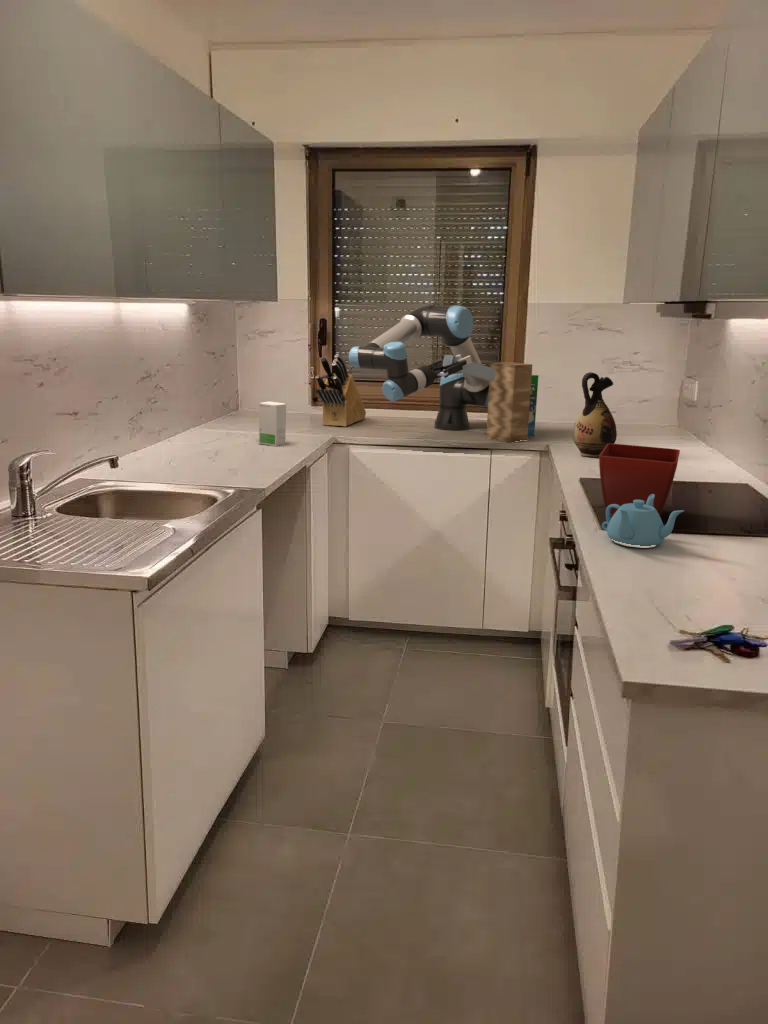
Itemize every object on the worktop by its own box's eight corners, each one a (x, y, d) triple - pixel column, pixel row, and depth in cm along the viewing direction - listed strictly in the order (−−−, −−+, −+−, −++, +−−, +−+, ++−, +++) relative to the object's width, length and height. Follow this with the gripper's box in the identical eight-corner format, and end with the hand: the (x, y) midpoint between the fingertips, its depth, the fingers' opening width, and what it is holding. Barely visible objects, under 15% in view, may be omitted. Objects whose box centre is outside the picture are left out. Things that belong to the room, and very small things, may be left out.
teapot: (594, 533, 196) (597, 493, 193) (652, 532, 198) (657, 492, 195) (617, 552, 182) (621, 508, 179) (680, 551, 184) (685, 508, 181)
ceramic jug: (597, 450, 302) (604, 370, 294) (623, 458, 289) (631, 374, 281) (559, 452, 296) (565, 370, 288) (583, 460, 283) (590, 375, 275)
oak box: (485, 437, 324) (489, 362, 316) (503, 435, 330) (507, 361, 322) (510, 443, 314) (515, 365, 306) (528, 440, 320) (533, 364, 312)
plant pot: (669, 527, 203) (677, 462, 198) (592, 518, 209) (598, 455, 205) (673, 509, 220) (680, 449, 215) (601, 501, 227) (607, 443, 222)
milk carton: (532, 432, 339) (536, 372, 332) (534, 436, 330) (538, 375, 324) (510, 431, 340) (514, 372, 333) (512, 435, 331) (515, 374, 324)
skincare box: (258, 444, 301) (257, 402, 297) (268, 441, 306) (268, 400, 302) (276, 446, 297) (276, 404, 293) (287, 443, 303) (286, 402, 299)
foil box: (441, 367, 295) (444, 354, 295) (484, 380, 311) (487, 368, 310) (450, 368, 292) (453, 355, 291) (493, 381, 307) (496, 369, 307)
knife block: (313, 428, 337) (313, 354, 329) (343, 417, 369) (343, 349, 361) (338, 430, 333) (338, 355, 325) (366, 419, 366) (367, 350, 358)
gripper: (405, 386, 294) (450, 366, 307) (438, 391, 281) (483, 370, 294) (402, 366, 291) (447, 347, 303) (435, 370, 278) (481, 350, 290)
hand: (465, 358), depth 298 cm, fingers closed on foil box, 4 cm apart
